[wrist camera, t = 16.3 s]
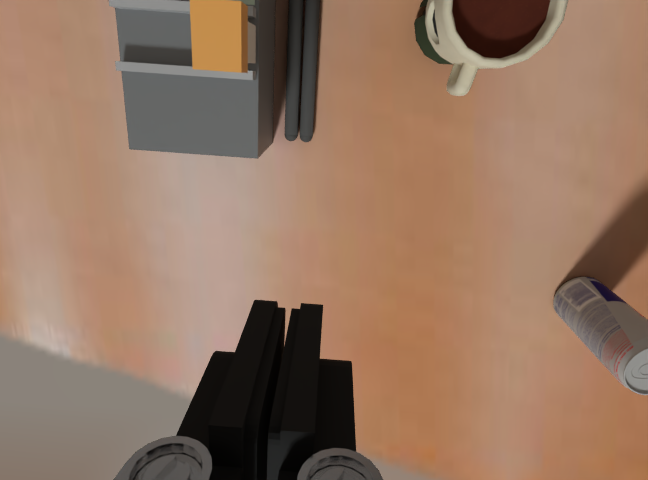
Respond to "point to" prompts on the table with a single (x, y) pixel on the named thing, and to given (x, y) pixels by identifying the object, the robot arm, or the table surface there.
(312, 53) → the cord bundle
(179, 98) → the grey box
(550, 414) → the table surface
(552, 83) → the table surface
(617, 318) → the energy drink
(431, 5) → the character mug
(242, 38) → the switch
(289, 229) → the table surface
